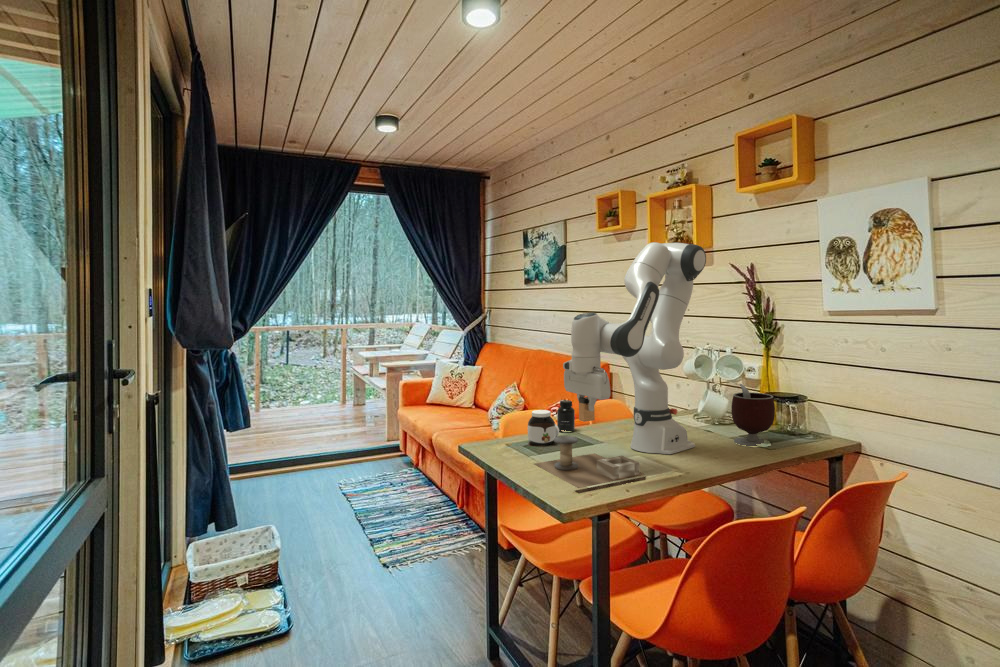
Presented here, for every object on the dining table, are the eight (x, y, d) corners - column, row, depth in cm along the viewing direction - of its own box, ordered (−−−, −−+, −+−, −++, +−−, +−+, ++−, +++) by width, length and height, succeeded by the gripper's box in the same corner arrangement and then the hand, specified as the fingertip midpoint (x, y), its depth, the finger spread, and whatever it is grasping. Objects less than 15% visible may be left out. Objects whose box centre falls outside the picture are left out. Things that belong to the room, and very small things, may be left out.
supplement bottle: (562, 433, 211) (562, 403, 210) (554, 430, 217) (553, 400, 217) (578, 431, 214) (577, 401, 213) (569, 428, 220) (568, 398, 219)
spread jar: (528, 446, 194) (527, 414, 194) (527, 438, 206) (526, 408, 205) (561, 445, 194) (561, 413, 193) (558, 437, 205) (558, 407, 205)
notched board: (594, 457, 178) (594, 442, 178) (645, 479, 156) (645, 462, 155) (533, 468, 168) (533, 452, 168) (578, 493, 146) (578, 475, 145)
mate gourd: (782, 447, 185) (783, 389, 184) (743, 449, 185) (744, 391, 183) (758, 436, 201) (758, 383, 200) (722, 437, 200) (722, 384, 199)
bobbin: (569, 462, 169) (569, 434, 168) (582, 468, 162) (582, 439, 162) (550, 465, 166) (550, 437, 165) (562, 472, 159) (562, 443, 159)
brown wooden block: (589, 418, 171) (589, 396, 170) (594, 420, 169) (594, 397, 168) (579, 420, 169) (578, 397, 169) (583, 421, 167) (583, 399, 166)
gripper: (615, 368, 160) (615, 414, 161) (576, 361, 178) (577, 403, 179) (597, 369, 157) (598, 416, 158) (560, 363, 176) (561, 405, 176)
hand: (586, 409), depth 169 cm, fingers closed on brown wooden block, 3 cm apart
